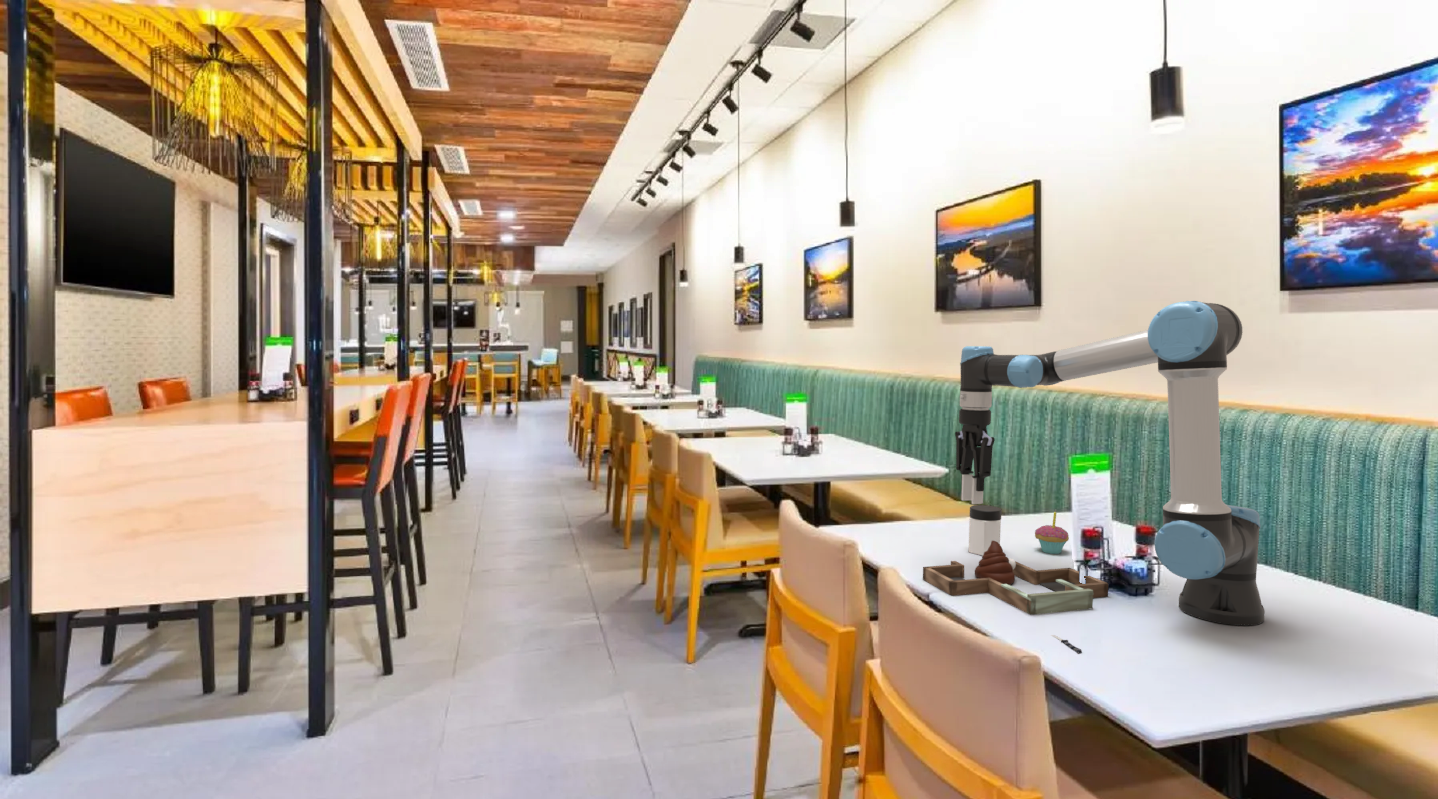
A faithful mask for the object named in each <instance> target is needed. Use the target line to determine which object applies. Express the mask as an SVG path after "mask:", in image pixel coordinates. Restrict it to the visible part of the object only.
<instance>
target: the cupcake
mask: <svg viewBox="0 0 1438 799" xmlns="http://www.w3.org/2000/svg"><path fill="white" fill-rule="evenodd" d="M1056 519H1057V509H1055V510H1054V511H1053V516H1052V524H1050V525H1049V524H1046V525H1042V526H1040V527H1038V528H1037V529H1035V531H1034V537H1035V539H1037V540H1038V542H1039V544H1040V547H1041V548H1040V549H1041V551H1042V552H1043V553H1045V554H1052V555H1059V554H1062V550H1063V549H1064V546H1065V544H1066V543H1067V542H1069V540H1070V539H1069V538H1070V537H1069V533H1068V532H1067V530H1066V529H1063V527H1060V526H1056Z"/></svg>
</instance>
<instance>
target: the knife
mask: <svg viewBox="0 0 1438 799" xmlns="http://www.w3.org/2000/svg"><path fill="white" fill-rule="evenodd" d="M1050 636H1051V637H1053V638H1055V639H1057V640H1059V642H1060V643H1063V644H1064V645H1065V646H1066V647H1068V648H1069V649H1070V650H1072V651H1074V652H1076V653H1077V654H1080V653H1082V651H1083V650H1082V649H1081V648H1079V647H1076V646H1075V645H1074V644H1072V643H1070V642H1069V640H1068V639H1063V638H1061V637H1059V636H1057V635H1055V634H1051V635H1050Z"/></svg>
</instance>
